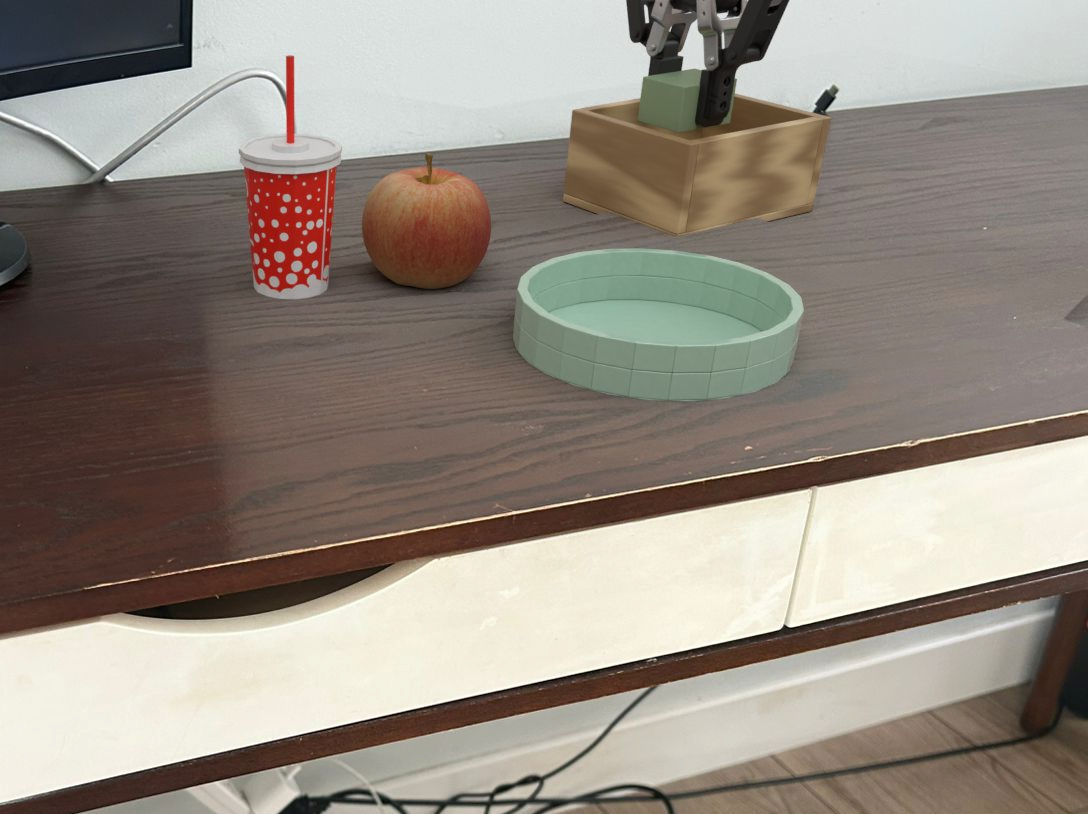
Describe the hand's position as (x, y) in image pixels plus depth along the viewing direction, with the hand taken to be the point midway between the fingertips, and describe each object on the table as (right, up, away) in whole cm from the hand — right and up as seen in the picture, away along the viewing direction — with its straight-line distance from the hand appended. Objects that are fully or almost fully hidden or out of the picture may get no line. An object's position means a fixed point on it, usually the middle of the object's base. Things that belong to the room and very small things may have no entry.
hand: (684, 117), depth 96 cm
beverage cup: (-28, -15, -11) cm, 33 cm away
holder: (+1, -5, +4) cm, 7 cm away
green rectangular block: (0, 0, 0) cm, 0 cm away
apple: (-19, -14, -9) cm, 26 cm away
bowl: (-8, -20, -19) cm, 29 cm away
